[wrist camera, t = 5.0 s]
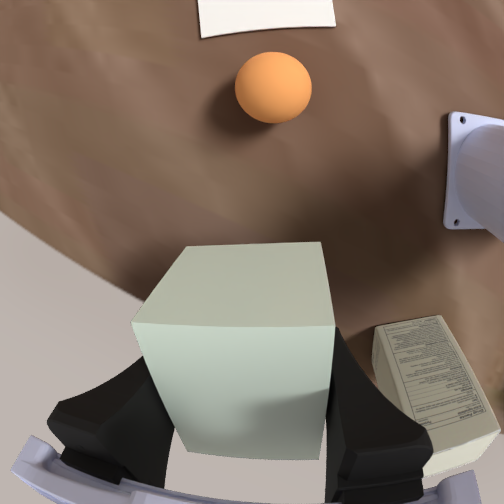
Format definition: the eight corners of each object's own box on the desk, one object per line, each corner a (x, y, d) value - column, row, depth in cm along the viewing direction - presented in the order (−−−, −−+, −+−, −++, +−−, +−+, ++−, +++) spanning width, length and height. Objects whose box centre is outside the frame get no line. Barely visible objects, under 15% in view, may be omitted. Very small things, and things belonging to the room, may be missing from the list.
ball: (305, 56, 15) (309, 42, 12) (311, 120, 17) (317, 122, 13) (238, 62, 16) (224, 50, 12) (244, 124, 17) (232, 128, 14)
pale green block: (320, 241, 13) (335, 325, 8) (316, 371, 16) (318, 459, 11) (186, 246, 14) (130, 322, 9) (213, 369, 17) (187, 451, 12)
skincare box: (370, 361, 24) (392, 487, 13) (373, 323, 23) (408, 461, 12) (435, 350, 23) (478, 462, 12) (444, 312, 21) (503, 431, 11)
